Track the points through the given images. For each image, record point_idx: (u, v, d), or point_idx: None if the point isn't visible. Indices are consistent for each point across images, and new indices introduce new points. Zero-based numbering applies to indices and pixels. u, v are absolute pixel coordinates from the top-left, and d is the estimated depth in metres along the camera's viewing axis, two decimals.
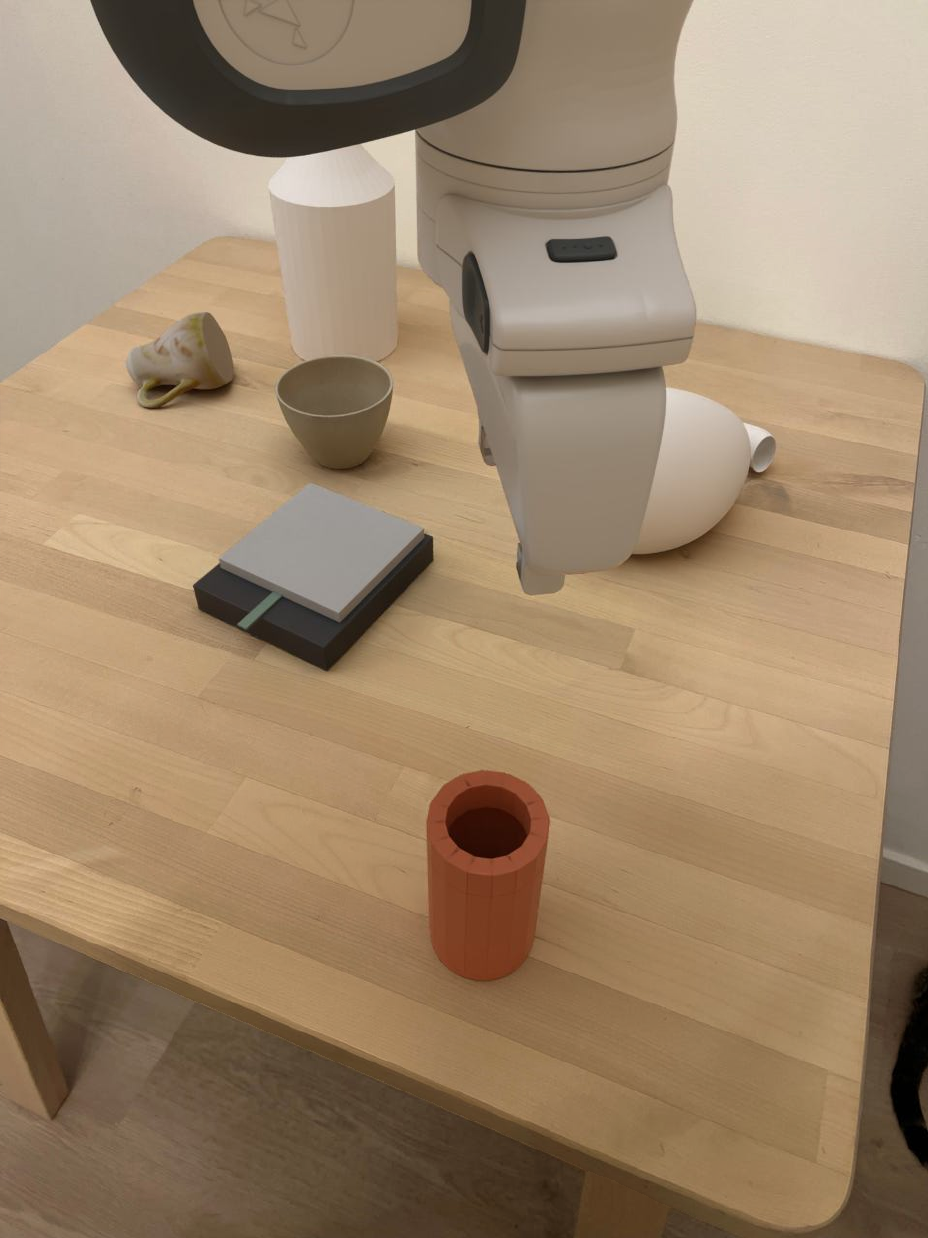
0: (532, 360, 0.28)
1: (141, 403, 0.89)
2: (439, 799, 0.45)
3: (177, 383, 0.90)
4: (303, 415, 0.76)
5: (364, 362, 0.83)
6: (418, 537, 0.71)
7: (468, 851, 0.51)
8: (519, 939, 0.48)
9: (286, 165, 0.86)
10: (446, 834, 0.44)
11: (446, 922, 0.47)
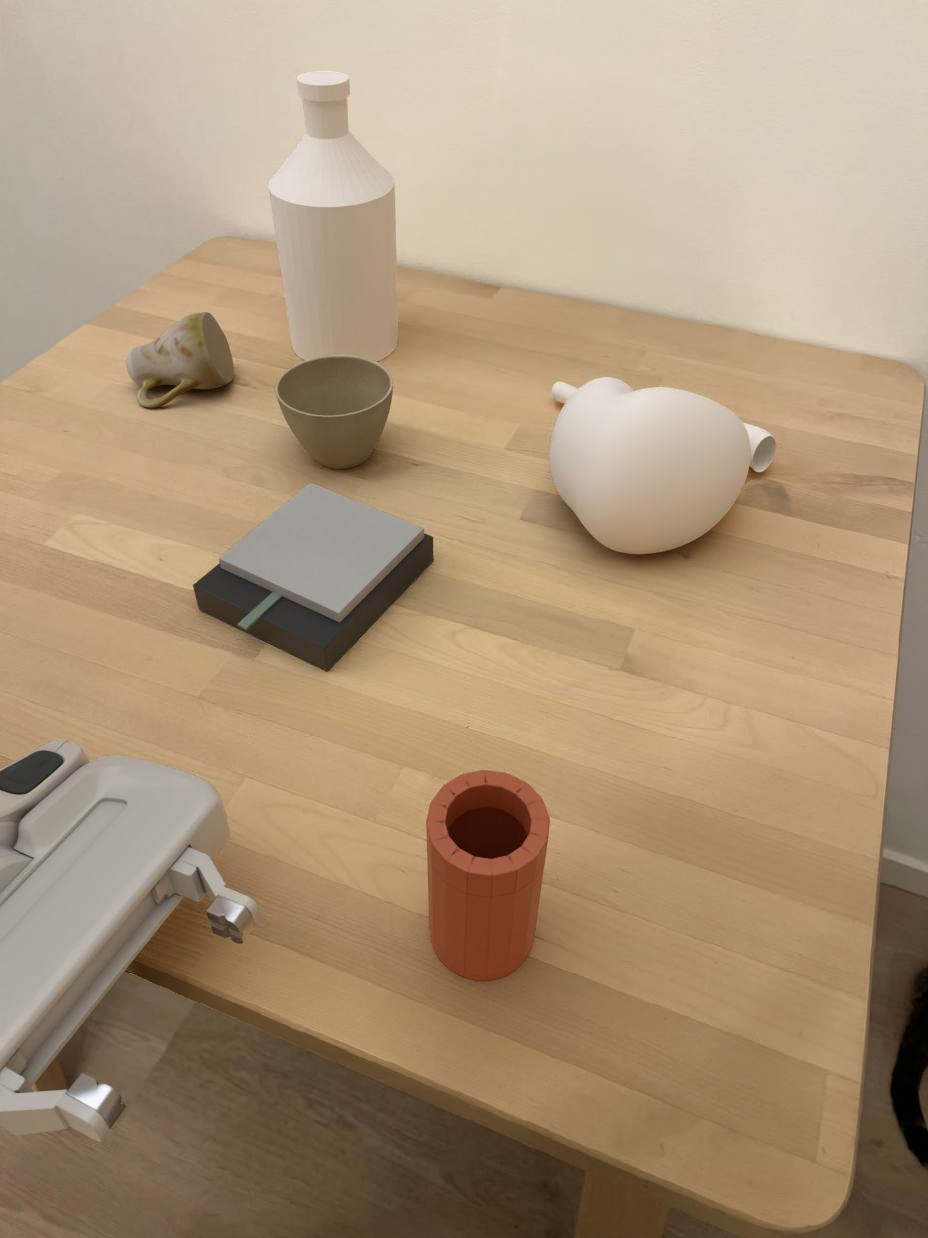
0: None
1: (141, 403, 0.89)
2: (439, 799, 0.45)
3: (177, 383, 0.90)
4: (303, 415, 0.76)
5: (364, 362, 0.83)
6: (418, 537, 0.71)
7: (468, 851, 0.51)
8: (519, 939, 0.48)
9: (286, 165, 0.86)
10: (446, 834, 0.44)
11: (446, 922, 0.47)
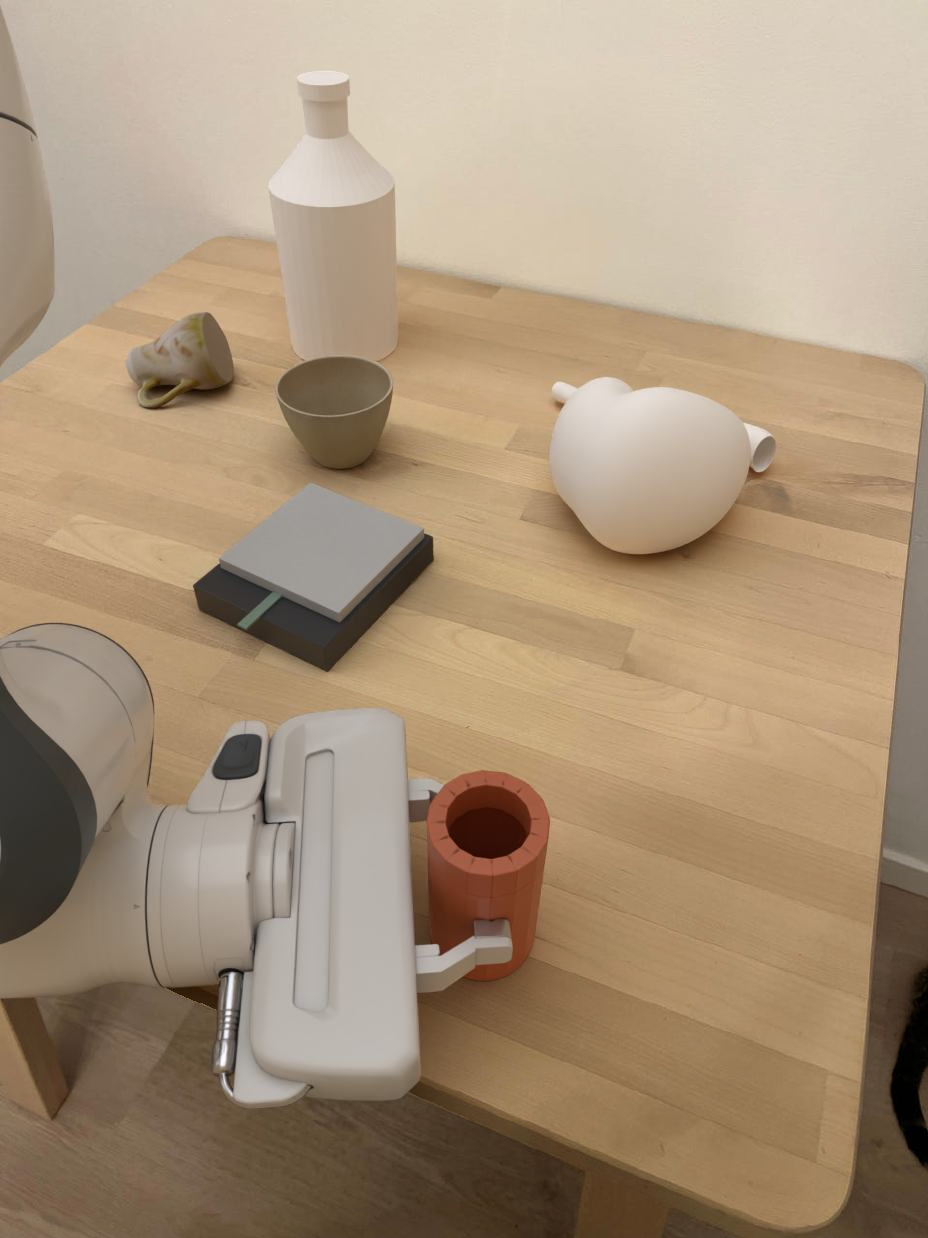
0: None
1: (141, 403, 0.89)
2: (439, 799, 0.45)
3: (177, 383, 0.90)
4: (303, 415, 0.76)
5: (364, 362, 0.83)
6: (418, 537, 0.71)
7: (468, 851, 0.51)
8: (519, 939, 0.48)
9: (286, 165, 0.86)
10: (446, 834, 0.44)
11: (446, 922, 0.47)
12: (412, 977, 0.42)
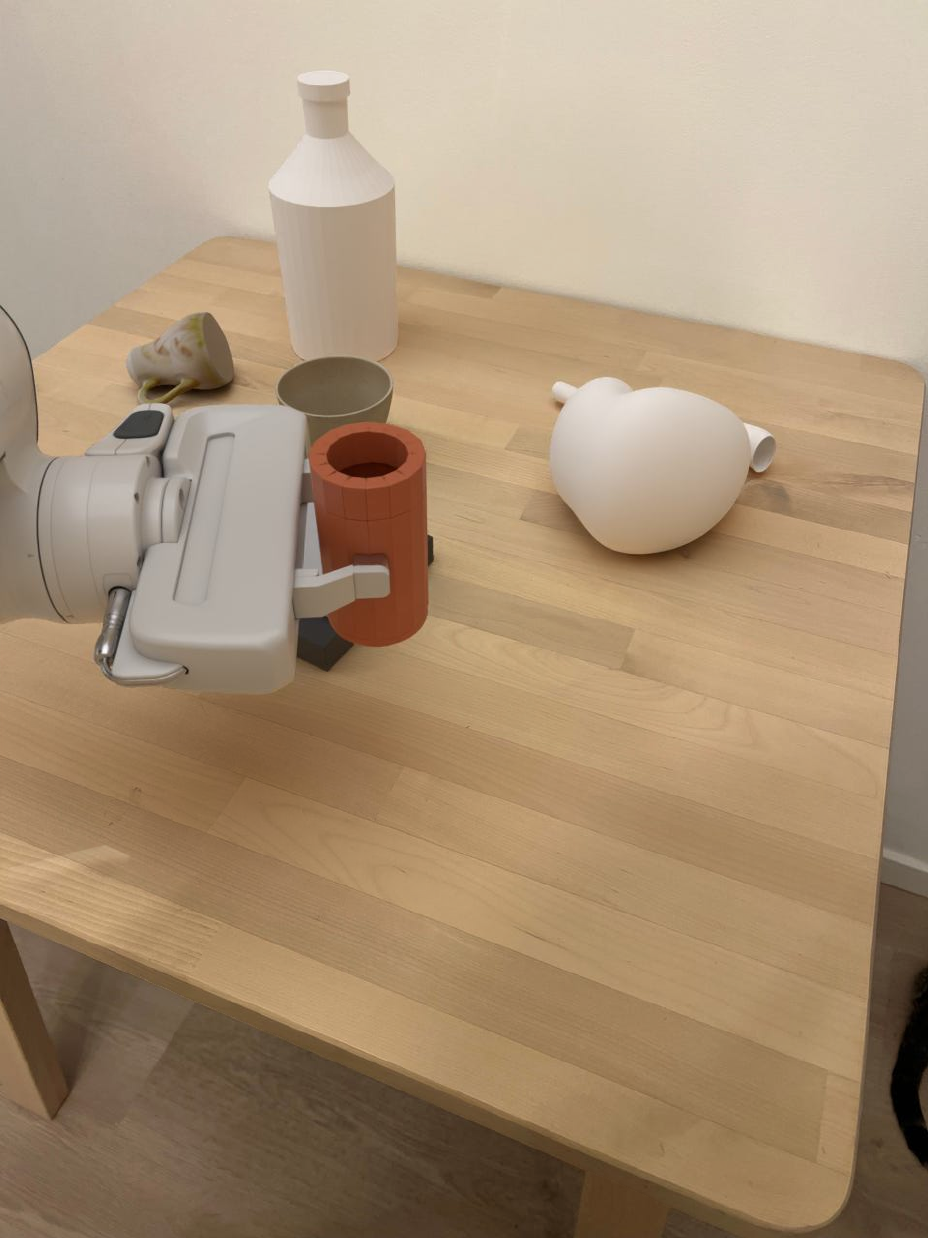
0: None
1: (141, 403, 0.89)
2: (323, 439, 0.47)
3: (177, 383, 0.90)
4: None
5: (364, 362, 0.83)
6: None
7: None
8: (405, 594, 0.50)
9: (286, 165, 0.86)
10: (326, 462, 0.46)
11: (333, 569, 0.49)
12: (288, 584, 0.45)
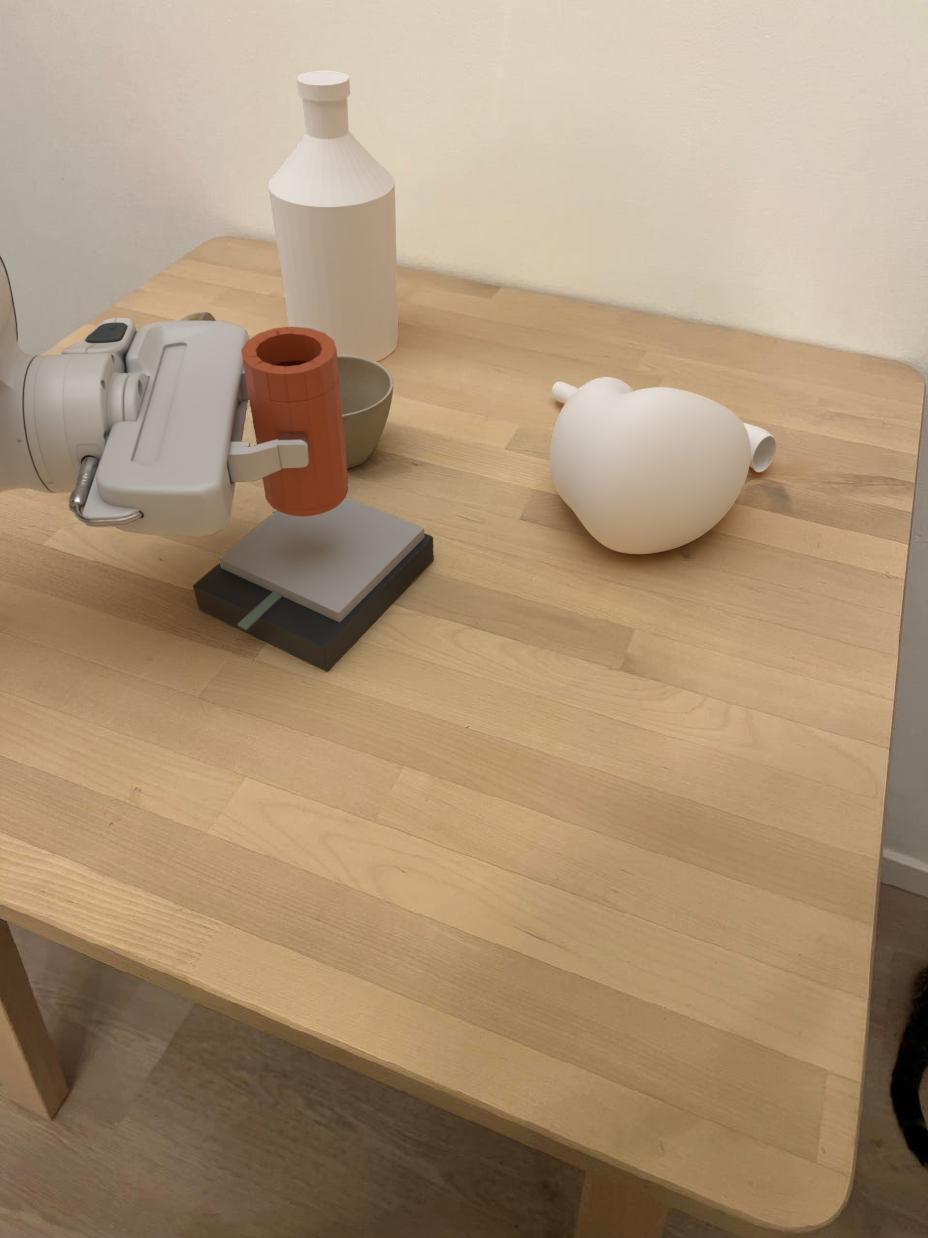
0: None
1: None
2: (254, 339, 0.59)
3: None
4: None
5: (364, 362, 0.83)
6: (418, 537, 0.71)
7: None
8: (324, 469, 0.62)
9: (286, 165, 0.86)
10: (255, 355, 0.58)
11: None
12: (223, 450, 0.56)
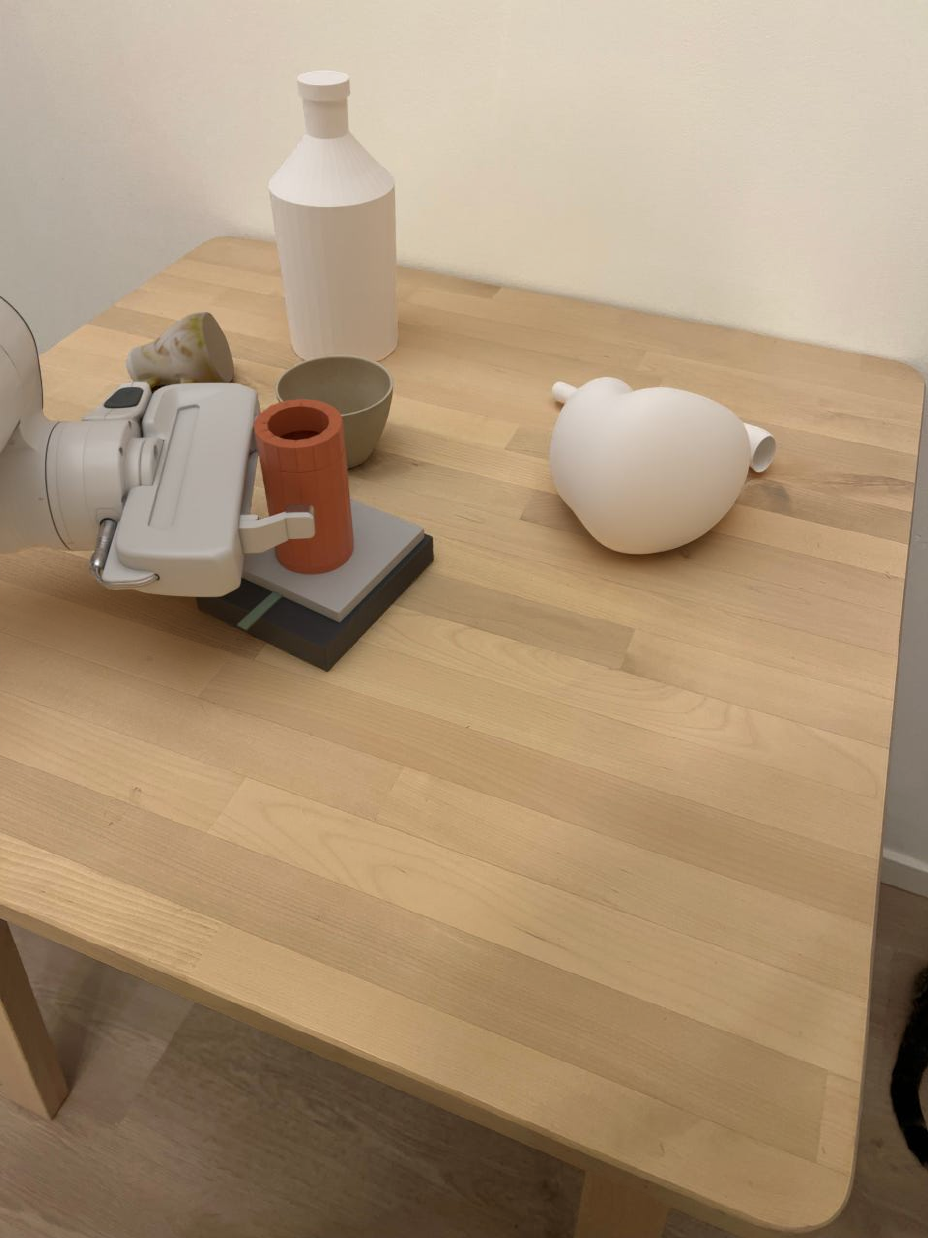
0: None
1: None
2: (265, 412, 0.63)
3: (177, 383, 0.90)
4: None
5: (364, 362, 0.83)
6: (418, 537, 0.71)
7: None
8: (331, 531, 0.66)
9: (286, 165, 0.86)
10: (266, 428, 0.61)
11: (275, 512, 0.64)
12: (235, 514, 0.59)
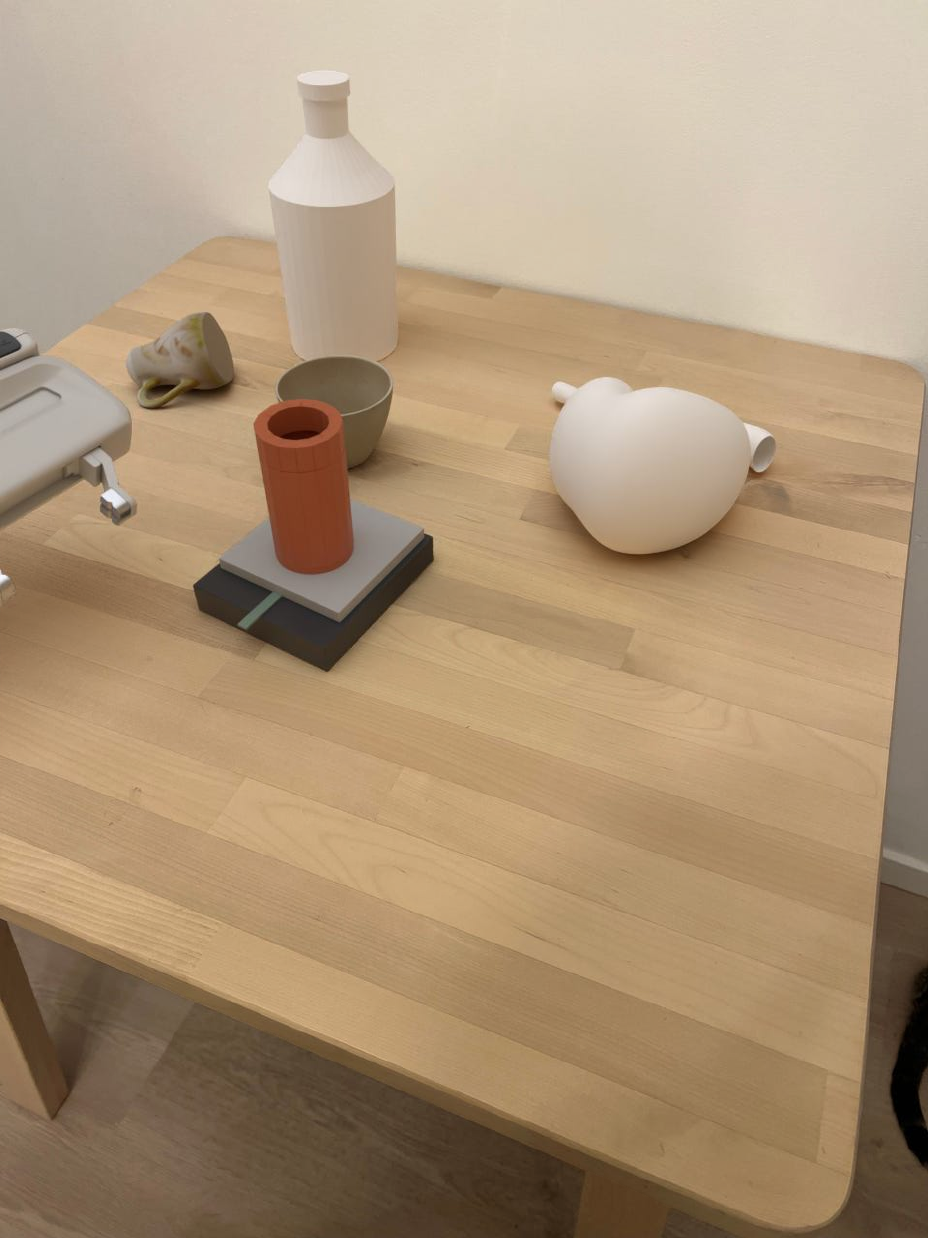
0: None
1: (141, 403, 0.89)
2: (265, 412, 0.63)
3: (177, 383, 0.90)
4: None
5: (364, 362, 0.83)
6: (418, 537, 0.71)
7: None
8: (331, 531, 0.66)
9: (286, 165, 0.86)
10: (266, 428, 0.61)
11: (275, 512, 0.64)
12: None
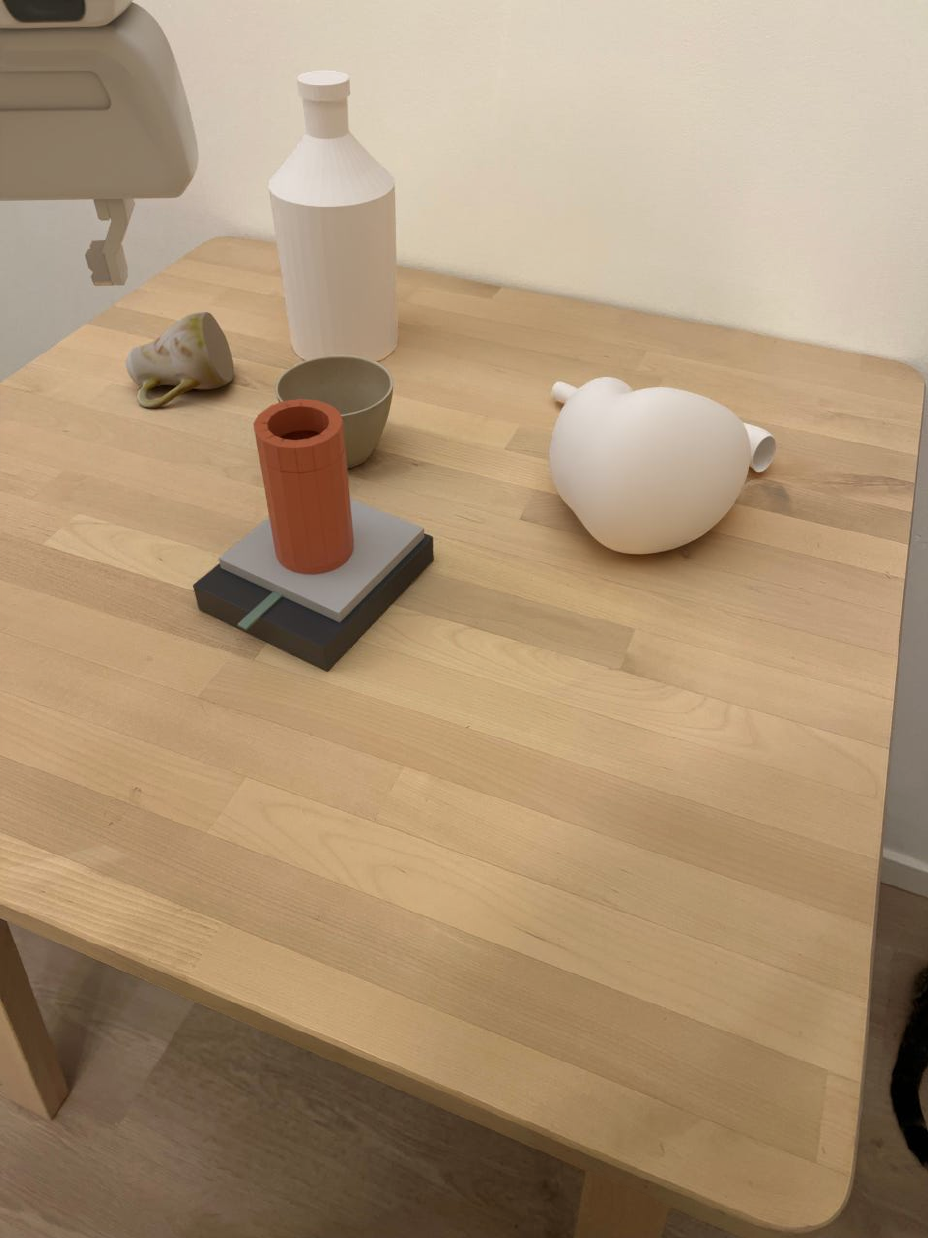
0: None
1: (141, 403, 0.89)
2: (265, 412, 0.63)
3: (177, 383, 0.90)
4: None
5: (364, 362, 0.83)
6: (418, 537, 0.71)
7: None
8: (331, 531, 0.66)
9: (286, 165, 0.86)
10: (266, 428, 0.61)
11: (275, 512, 0.64)
12: None
